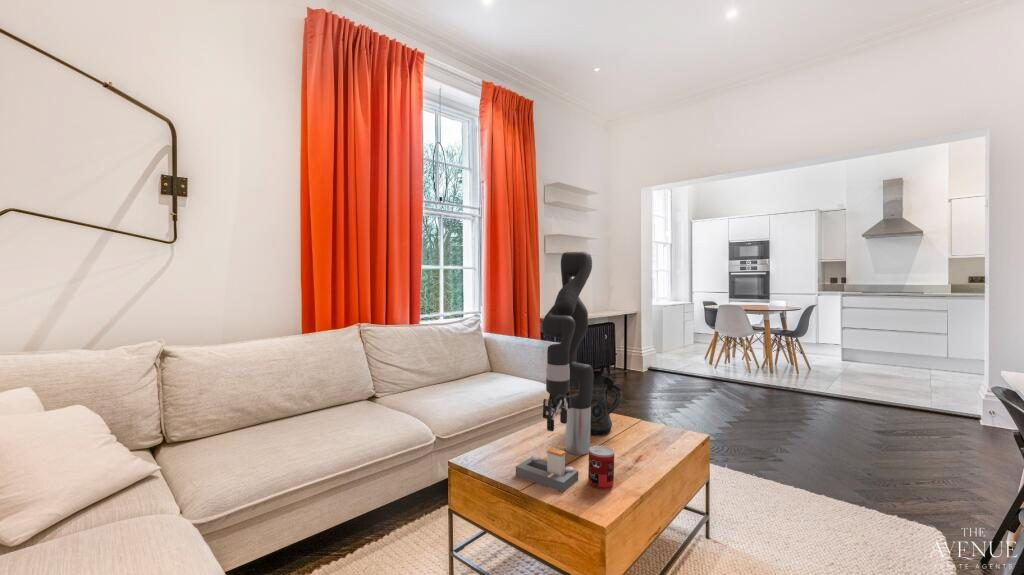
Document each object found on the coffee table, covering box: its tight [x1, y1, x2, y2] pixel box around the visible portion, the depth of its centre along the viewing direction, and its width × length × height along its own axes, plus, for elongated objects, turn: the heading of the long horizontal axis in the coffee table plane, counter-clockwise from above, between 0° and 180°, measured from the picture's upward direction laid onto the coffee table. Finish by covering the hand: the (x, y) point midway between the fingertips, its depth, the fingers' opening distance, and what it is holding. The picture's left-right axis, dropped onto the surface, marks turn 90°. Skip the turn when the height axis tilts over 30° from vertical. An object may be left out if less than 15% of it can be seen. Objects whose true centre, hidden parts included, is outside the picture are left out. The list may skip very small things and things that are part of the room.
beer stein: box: [590, 370, 623, 437], centre depth 186 cm, size 16×19×25 cm
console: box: [515, 455, 579, 493], centre depth 142 cm, size 10×18×4 cm, turn 54°
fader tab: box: [546, 447, 566, 477], centre depth 139 cm, size 3×5×10 cm, turn 54°
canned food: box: [587, 445, 615, 490], centre depth 138 cm, size 8×8×11 cm
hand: (557, 426), depth 139 cm, fingers open, 8 cm apart
